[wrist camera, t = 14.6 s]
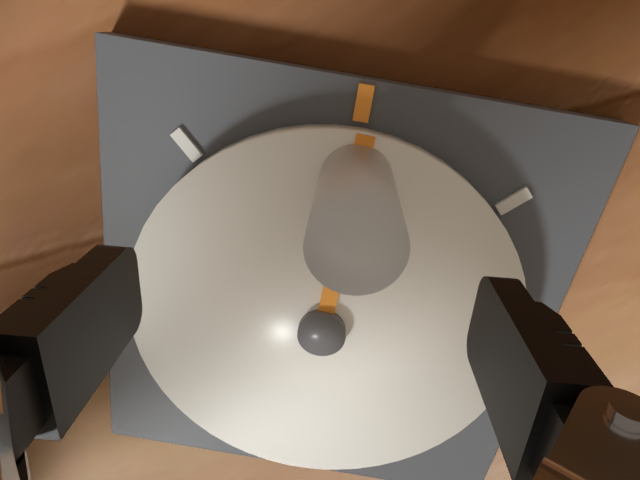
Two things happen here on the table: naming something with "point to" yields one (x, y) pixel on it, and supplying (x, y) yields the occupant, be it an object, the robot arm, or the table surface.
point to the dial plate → (353, 110)
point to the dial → (319, 295)
